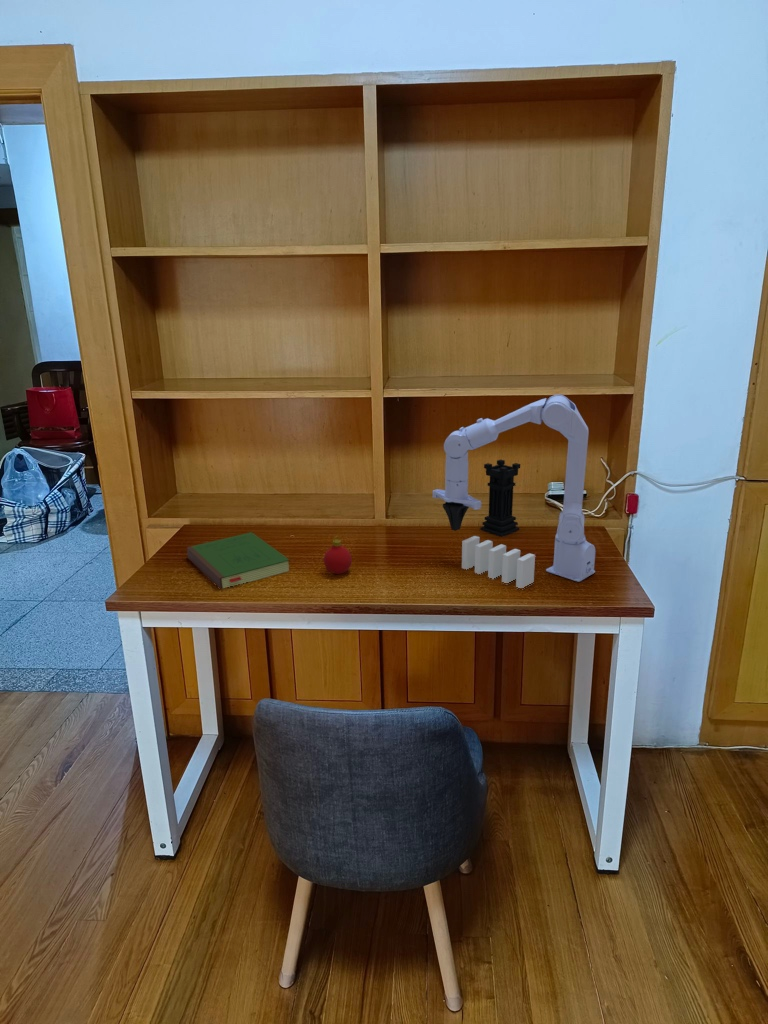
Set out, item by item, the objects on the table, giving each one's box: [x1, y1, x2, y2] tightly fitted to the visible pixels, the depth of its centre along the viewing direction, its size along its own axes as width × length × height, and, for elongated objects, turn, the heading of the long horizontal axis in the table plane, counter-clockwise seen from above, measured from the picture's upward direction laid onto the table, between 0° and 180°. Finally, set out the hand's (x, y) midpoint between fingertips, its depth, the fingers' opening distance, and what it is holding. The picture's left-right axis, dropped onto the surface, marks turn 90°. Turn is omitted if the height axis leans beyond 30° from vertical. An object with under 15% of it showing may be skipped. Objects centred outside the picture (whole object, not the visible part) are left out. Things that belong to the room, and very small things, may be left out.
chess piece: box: [479, 459, 521, 538], centre depth 197 cm, size 8×8×20 cm
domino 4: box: [501, 548, 521, 584], centre depth 166 cm, size 2×5×8 cm, turn 134°
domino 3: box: [487, 543, 507, 580], centre depth 169 cm, size 2×5×8 cm, turn 134°
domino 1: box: [461, 535, 481, 571], centre depth 175 cm, size 2×5×8 cm, turn 134°
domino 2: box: [474, 539, 494, 575], centre depth 172 cm, size 2×5×8 cm, turn 134°
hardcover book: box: [186, 531, 290, 590], centre depth 180 cm, size 25×19×4 cm
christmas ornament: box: [323, 535, 353, 575], centre depth 173 cm, size 7×7×10 cm
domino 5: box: [515, 552, 536, 589], centre depth 164 cm, size 2×5×8 cm, turn 135°
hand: (455, 529), depth 177 cm, fingers closed
